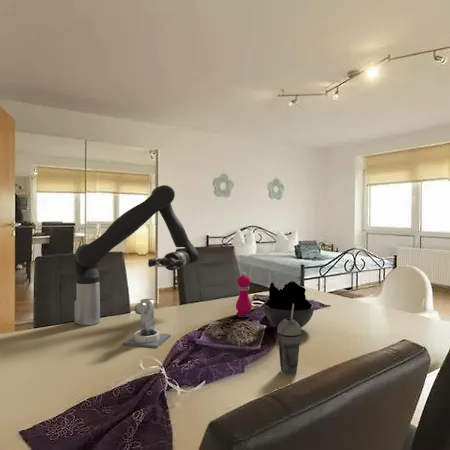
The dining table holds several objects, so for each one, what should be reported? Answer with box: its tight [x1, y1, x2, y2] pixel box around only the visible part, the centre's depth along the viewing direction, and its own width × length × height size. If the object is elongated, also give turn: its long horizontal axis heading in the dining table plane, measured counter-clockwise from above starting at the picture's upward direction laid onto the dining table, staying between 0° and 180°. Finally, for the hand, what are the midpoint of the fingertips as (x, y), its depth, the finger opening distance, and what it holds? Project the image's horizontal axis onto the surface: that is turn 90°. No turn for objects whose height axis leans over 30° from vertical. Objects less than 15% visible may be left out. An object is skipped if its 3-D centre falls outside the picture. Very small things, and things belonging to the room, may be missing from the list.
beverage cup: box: [276, 304, 303, 376], centre depth 107 cm, size 7×7×20 cm
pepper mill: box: [235, 271, 253, 316], centre depth 165 cm, size 7×7×20 cm
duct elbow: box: [133, 298, 155, 336], centre depth 132 cm, size 5×9×14 cm, turn 166°
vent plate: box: [122, 328, 171, 349], centre depth 133 cm, size 13×12×3 cm
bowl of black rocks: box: [263, 281, 315, 328], centre depth 147 cm, size 20×20×19 cm
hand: (159, 264), depth 143 cm, fingers open, 8 cm apart
